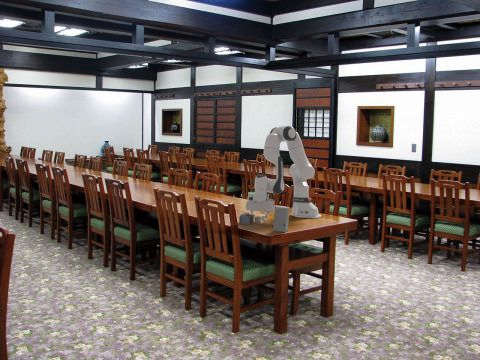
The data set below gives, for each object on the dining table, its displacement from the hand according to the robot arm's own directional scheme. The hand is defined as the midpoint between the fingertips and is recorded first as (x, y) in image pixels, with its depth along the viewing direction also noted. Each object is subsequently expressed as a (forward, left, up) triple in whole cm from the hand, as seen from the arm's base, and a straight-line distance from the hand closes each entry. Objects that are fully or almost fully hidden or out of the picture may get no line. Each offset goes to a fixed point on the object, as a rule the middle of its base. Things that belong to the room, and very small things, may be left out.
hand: (259, 217), depth 352 cm
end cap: (+6, +9, -3) cm, 11 cm away
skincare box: (-22, +23, -3) cm, 32 cm away
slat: (-1, 0, -3) cm, 3 cm away
